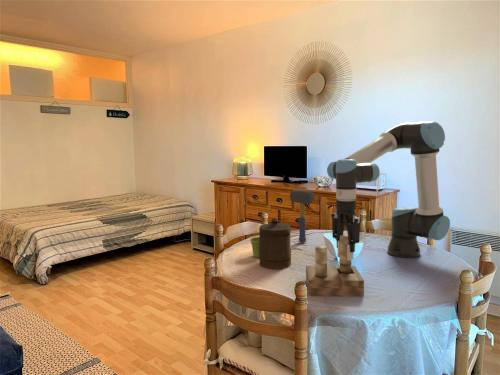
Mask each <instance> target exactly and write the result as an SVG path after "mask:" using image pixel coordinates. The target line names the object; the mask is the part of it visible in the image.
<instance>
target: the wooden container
mask: <svg viewBox="0 0 500 375" xmlns="http://www.w3.org/2000/svg"><path fill="white" fill-rule="evenodd" d="M258 229H259V234H258V235H259V236H258V237H259V266H260V267H262V268H265V269H267V270H268V269H269V270H282V269H286V268H288V267H290V266H291V265H292V245H291V244H292V242H291V239H292V238H291V225H289V224H286V223H282V222H281V223H280V221H279V219H278V218H277V217H273V218H272V219H271V220H270V222H269V223H268V222H267V223H264V224H261V225H259V228H258Z"/></svg>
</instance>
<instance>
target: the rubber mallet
mask: <svg viewBox="0 0 500 375" xmlns="http://www.w3.org/2000/svg"><path fill="white" fill-rule="evenodd" d="M289 200H290V201H291V202H292V203H297V204H299V217H298V218H299V219H298V228H299V236H298V241H299V243H300V244H305V243H306V242H307V237H306V226H307V225H306V222H307V221H306V216H305V214H306V213H305V204H307V205H309V204H312V203H314V202H315V194H314V192H313V190H305V189H293V190H291V191H290V193H289Z"/></svg>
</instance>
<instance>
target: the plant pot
mask: <svg viewBox="0 0 500 375" xmlns="http://www.w3.org/2000/svg"><path fill="white" fill-rule="evenodd" d="M249 241H250V244H251V249H252V256H253V257H254V258H259V236H254V237H251V238H250V239H249ZM259 259H260V258H259Z"/></svg>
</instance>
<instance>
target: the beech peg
mask: <svg viewBox="0 0 500 375" xmlns="http://www.w3.org/2000/svg"><path fill="white" fill-rule="evenodd" d="M348 243H349V239H348V234H343V235H340V257H339V262H338V264H339V266H340V271H341V272H345V273H348V272H351V266H352V260H350V261H348V260H347V244H348Z"/></svg>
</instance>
